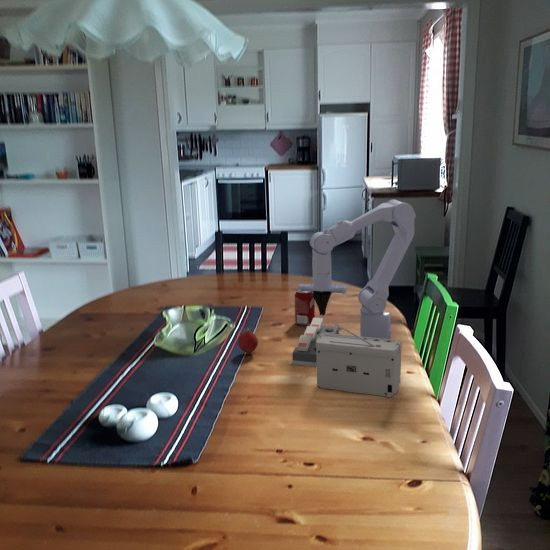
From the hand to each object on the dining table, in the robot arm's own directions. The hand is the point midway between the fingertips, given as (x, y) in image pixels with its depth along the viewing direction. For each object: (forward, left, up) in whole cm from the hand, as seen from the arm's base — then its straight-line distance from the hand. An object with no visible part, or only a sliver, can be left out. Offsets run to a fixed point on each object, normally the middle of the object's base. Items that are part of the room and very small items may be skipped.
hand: (322, 314), depth 172 cm
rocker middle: (+3, +5, -5) cm, 7 cm away
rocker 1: (+3, +13, -5) cm, 14 cm away
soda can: (+10, -16, -9) cm, 21 cm away
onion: (+20, +14, -9) cm, 26 cm away
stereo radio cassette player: (-15, +29, -10) cm, 34 cm away
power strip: (+1, +5, -9) cm, 11 cm away
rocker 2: (+3, -3, -5) cm, 6 cm away
